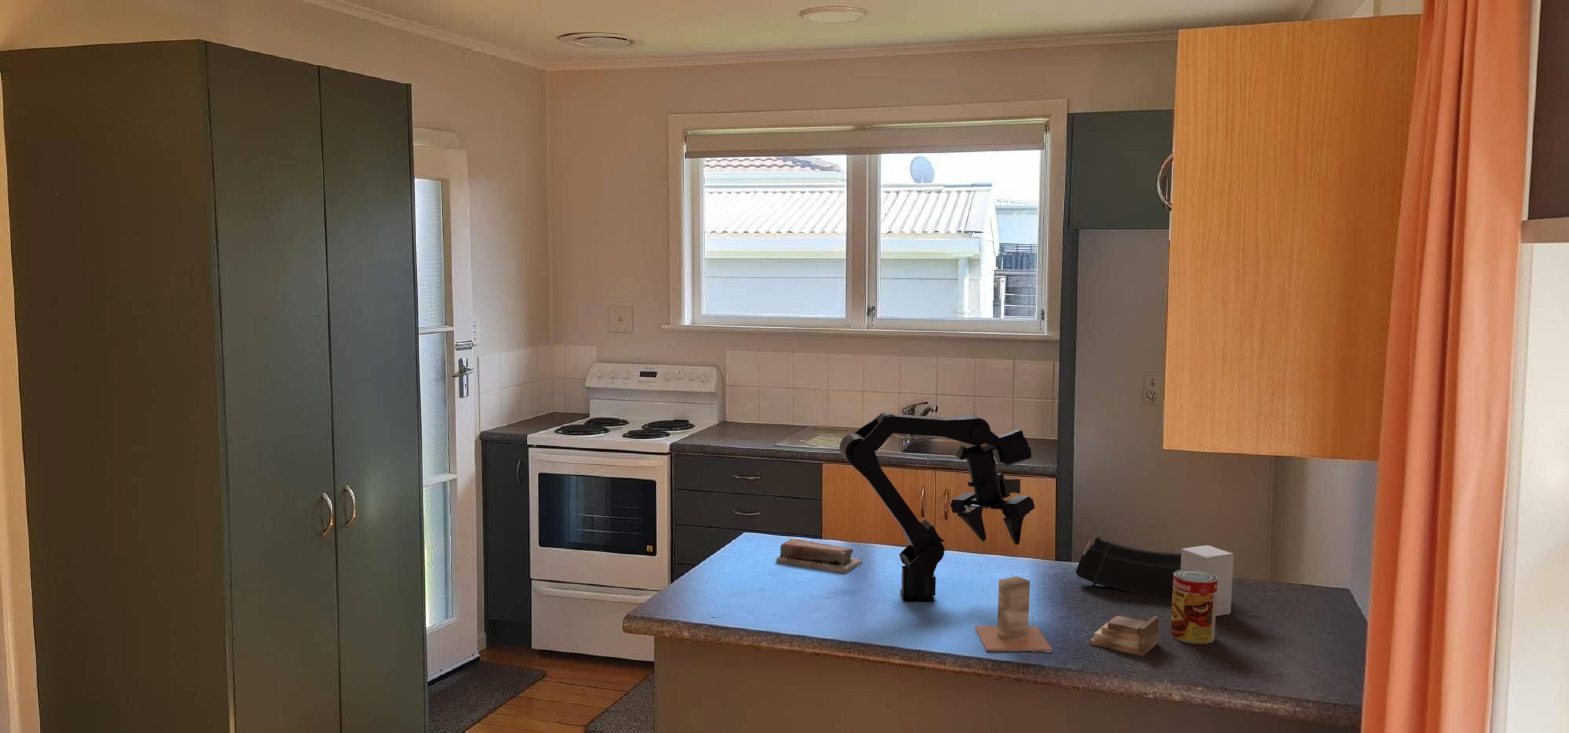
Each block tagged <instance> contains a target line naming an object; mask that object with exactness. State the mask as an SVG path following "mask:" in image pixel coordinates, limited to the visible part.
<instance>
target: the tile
mask: <svg viewBox="0 0 1569 733" xmlns="http://www.w3.org/2000/svg"><path fill="white" fill-rule="evenodd" d="M975 629H976V630H975ZM974 630H975V632H976V631H977V632H976V633H978V634H979V636H978V638H979V637H980V638H979V640H980V639H981V640H980V642H981V641H982V642H981V644H982V643H983V644H982V646H983V645H984V646H983V647H985V648H984V650H985V649H986V650H985V651H1052V652H1053V648H1052V647H1051V645H1050V644H1049V642H1048V641H1047V639H1046V638H1045V636H1044V634H1043V633H1042V632H1041V630H1040V629H1039V626H1037V625H1036V626H1031V625H1028V638H1026V639H1022V640H1017V641H1013V642H1008V641H1006V640H1004V639H1002V638H999V637H997V625H975V626H974ZM978 634H977V635H978Z"/></svg>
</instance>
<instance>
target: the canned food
mask: <svg viewBox="0 0 1569 733" xmlns="http://www.w3.org/2000/svg"><path fill="white" fill-rule="evenodd" d="M1217 583H1218V578H1217V576H1216V575H1214V574H1212V573H1209V572H1205V571H1200V570H1189V569H1185V570H1178V571H1175V572H1174V575H1173V595H1172V597H1171V598H1172V600H1171V616H1170V617H1171V618H1170V619H1171V620H1170V635H1171V637H1172V638H1173V639H1175V640H1177V641H1179V642H1185V643H1189V644H1196V645H1197V644H1198V645H1203V644H1211V643H1213V642H1215V636H1216V634H1215V633H1216V620H1217V619H1216V617H1217V616H1216V602H1217Z"/></svg>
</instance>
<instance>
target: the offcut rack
mask: <svg viewBox="0 0 1569 733" xmlns="http://www.w3.org/2000/svg"><path fill="white" fill-rule="evenodd" d="M1158 630H1159V616H1156V615H1153V616H1152V617H1151V618H1150V619H1148V620H1147V621H1145V620H1140V619H1136V618H1130V617H1127V616H1126V617H1125V616H1122V615H1116V616H1114V617H1113V618H1111V619H1110V620H1108V621H1107V622H1105V624H1104V625H1102V626H1101V627H1099V629H1097V631H1095V632H1094V633H1093V637H1091V638H1090V639H1089V645H1092V646H1096V645H1097V647H1101V648H1104V649H1105V648H1106V649H1110V650H1115V651H1119V652H1122V653H1127V654H1131V655H1136V656H1139V657H1144V656H1145V655H1146V654H1147V653H1149V651H1150V650H1152V649H1153V648H1154V647H1155V646H1156V645H1157V644H1158V632H1159V631H1158Z"/></svg>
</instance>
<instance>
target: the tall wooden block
mask: <svg viewBox="0 0 1569 733" xmlns="http://www.w3.org/2000/svg"><path fill="white" fill-rule="evenodd" d="M1030 587H1031V581H1030V580H1028V579H1025V578H1023V577H1020V576H1017V575H1016V576H1012V577H1010V576H1009V577H1007V578H1005V577H1004V578H1000V579H998V595H997V596H998V599H997V625H996V626H997V637H999V638H1002V639H1004V640H1006V641H1008V642H1013V641H1017V640H1022V639H1026V638H1028V626H1029V619H1030V618H1029V617H1030V616H1029V615H1030V593H1031V592H1030V591H1031V590H1030V589H1031V588H1030Z"/></svg>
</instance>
